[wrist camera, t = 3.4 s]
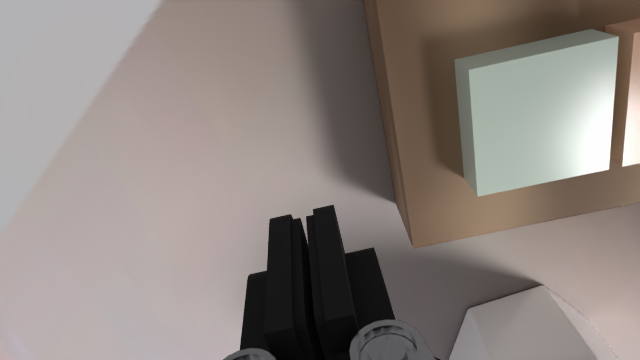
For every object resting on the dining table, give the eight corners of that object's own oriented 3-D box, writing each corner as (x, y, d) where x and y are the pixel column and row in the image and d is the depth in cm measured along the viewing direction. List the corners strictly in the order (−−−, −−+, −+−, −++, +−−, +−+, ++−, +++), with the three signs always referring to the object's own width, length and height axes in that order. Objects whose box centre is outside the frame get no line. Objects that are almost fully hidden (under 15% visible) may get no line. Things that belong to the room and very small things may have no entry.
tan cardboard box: (702, -100, 19) (797, -110, 15) (668, 147, 24) (734, 183, 20) (359, -19, 20) (374, -11, 16) (396, 204, 24) (413, 248, 21)
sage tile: (591, 28, 17) (619, 36, 15) (585, 152, 19) (608, 169, 18) (454, 59, 17) (468, 70, 16) (464, 178, 19) (477, 196, 18)
